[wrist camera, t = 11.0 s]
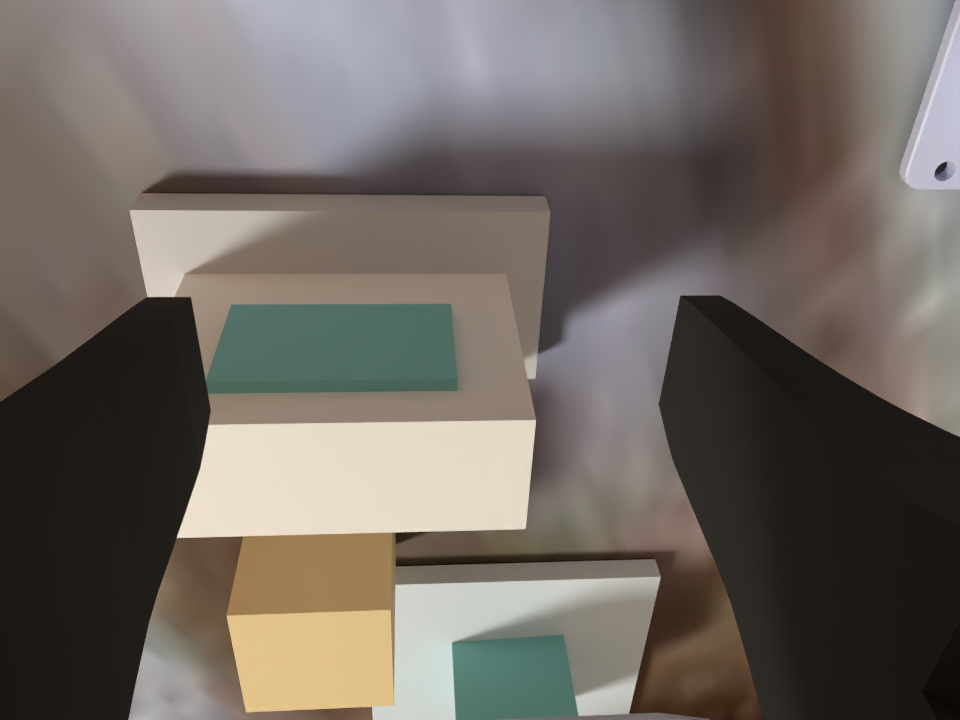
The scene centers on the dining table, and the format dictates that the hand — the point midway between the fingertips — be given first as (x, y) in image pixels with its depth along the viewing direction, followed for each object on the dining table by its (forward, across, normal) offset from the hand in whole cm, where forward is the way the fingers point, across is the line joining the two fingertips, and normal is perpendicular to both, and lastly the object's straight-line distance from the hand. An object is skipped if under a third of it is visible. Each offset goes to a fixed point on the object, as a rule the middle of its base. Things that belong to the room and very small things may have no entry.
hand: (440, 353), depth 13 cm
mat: (+9, -3, +20) cm, 22 cm away
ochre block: (+10, +3, +12) cm, 16 cm away
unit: (+9, +2, +4) cm, 10 cm away
